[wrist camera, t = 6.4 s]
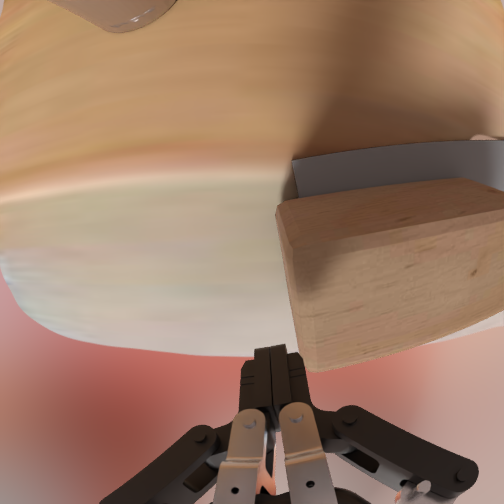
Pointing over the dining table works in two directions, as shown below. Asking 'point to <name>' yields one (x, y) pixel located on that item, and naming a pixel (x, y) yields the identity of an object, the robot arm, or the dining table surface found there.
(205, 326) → the dining table surface
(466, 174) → the rubber mat
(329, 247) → the wooden block
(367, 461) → the robot arm
